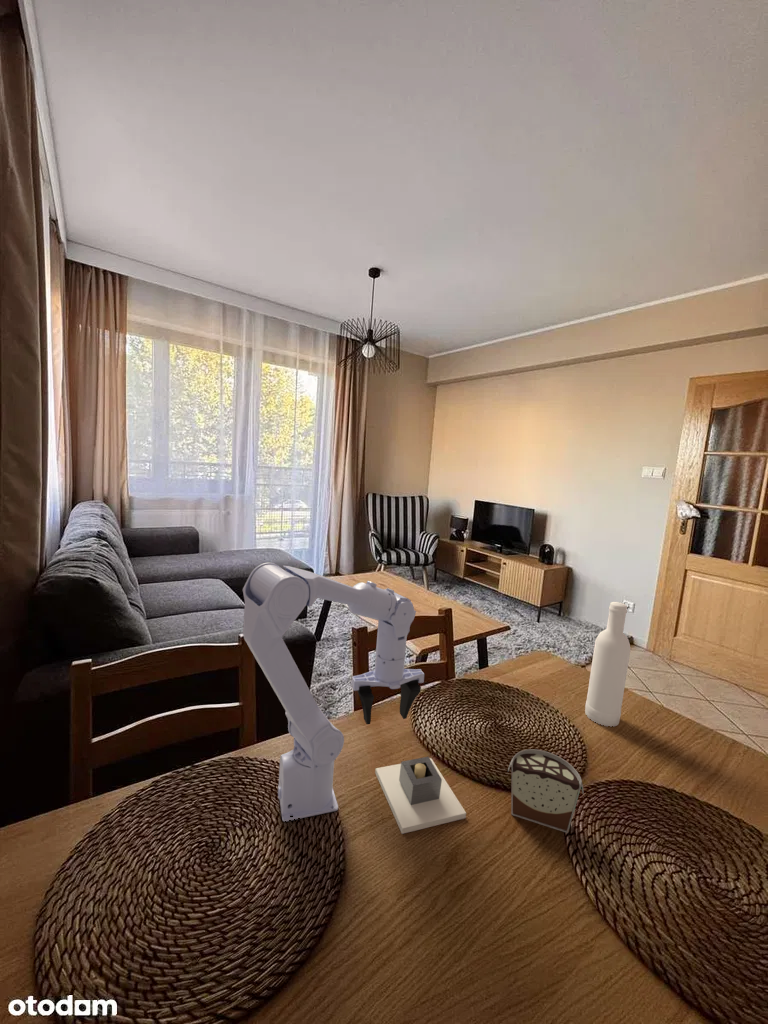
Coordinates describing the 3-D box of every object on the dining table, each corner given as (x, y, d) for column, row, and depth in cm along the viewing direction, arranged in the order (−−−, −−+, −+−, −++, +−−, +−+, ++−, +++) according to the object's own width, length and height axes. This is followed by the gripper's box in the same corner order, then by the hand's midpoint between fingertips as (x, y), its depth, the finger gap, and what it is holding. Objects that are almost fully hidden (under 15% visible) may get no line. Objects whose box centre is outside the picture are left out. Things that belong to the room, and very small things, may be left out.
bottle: (587, 704, 113) (603, 596, 110) (621, 716, 109) (638, 604, 105) (581, 718, 107) (598, 603, 103) (616, 731, 102) (635, 612, 99)
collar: (410, 805, 75) (413, 785, 74) (399, 780, 80) (401, 761, 79) (439, 798, 77) (441, 779, 76) (426, 774, 82) (428, 756, 81)
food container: (574, 809, 78) (581, 759, 77) (577, 836, 72) (585, 782, 71) (504, 787, 82) (510, 739, 81) (502, 811, 76) (508, 760, 75)
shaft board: (401, 833, 70) (404, 803, 69) (375, 773, 83) (377, 747, 82) (465, 818, 74) (468, 789, 74) (430, 762, 87) (433, 737, 87)
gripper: (360, 667, 77) (355, 736, 78) (433, 659, 81) (426, 725, 83) (350, 649, 83) (345, 714, 85) (418, 643, 88) (412, 705, 90)
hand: (385, 718), depth 84 cm, fingers open, 7 cm apart
